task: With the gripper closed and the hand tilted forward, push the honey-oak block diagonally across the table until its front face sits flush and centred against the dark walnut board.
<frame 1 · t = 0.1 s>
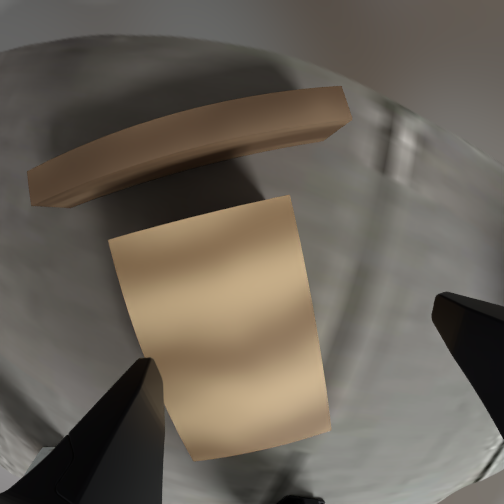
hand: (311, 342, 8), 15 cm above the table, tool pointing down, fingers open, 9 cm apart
walnut board: (187, 153, 22), on the table
oak block: (228, 314, 24), on the table
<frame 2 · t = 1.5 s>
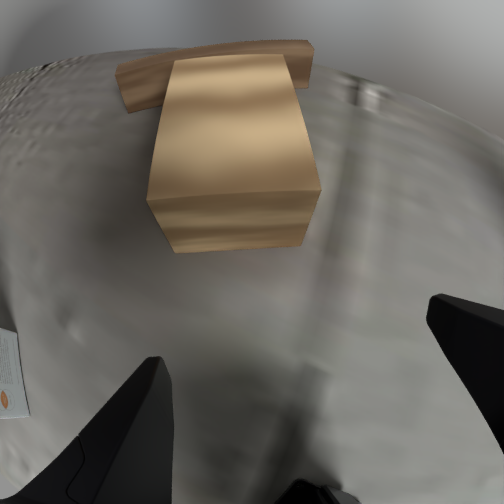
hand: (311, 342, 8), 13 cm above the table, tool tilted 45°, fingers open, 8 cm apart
walnut board: (217, 89, 31), on the table
oak block: (233, 171, 27), on the table
small box: (4, 376, 18), on the table
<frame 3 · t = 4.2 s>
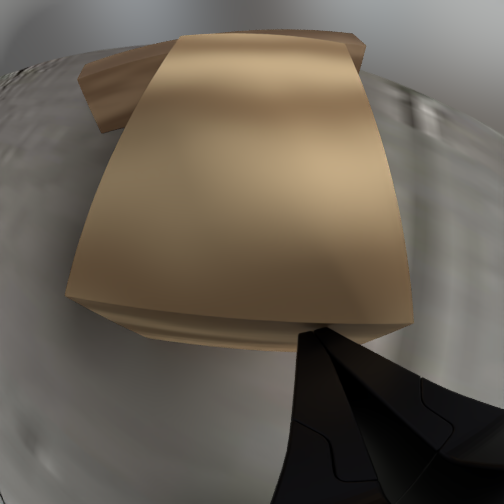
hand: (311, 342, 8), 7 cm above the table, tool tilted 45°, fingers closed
walnut board: (226, 98, 22), on the table
oak block: (251, 213, 18), on the table, touching gripper
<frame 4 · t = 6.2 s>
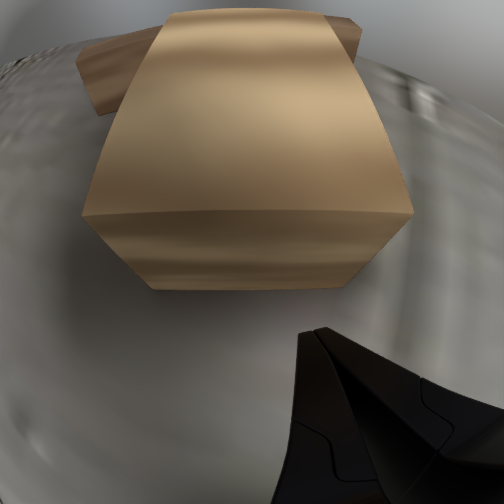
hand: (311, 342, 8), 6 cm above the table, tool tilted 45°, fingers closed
walnut board: (223, 81, 22), on the table
oak block: (246, 167, 18), on the table
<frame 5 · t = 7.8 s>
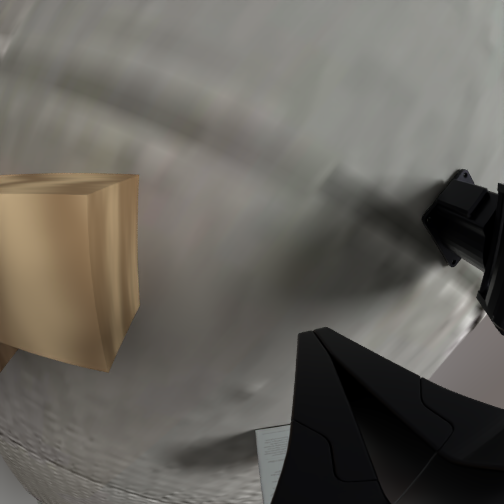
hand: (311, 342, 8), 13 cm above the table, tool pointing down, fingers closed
oak block: (49, 235, 19), on the table
small box: (291, 435, 29), on the table
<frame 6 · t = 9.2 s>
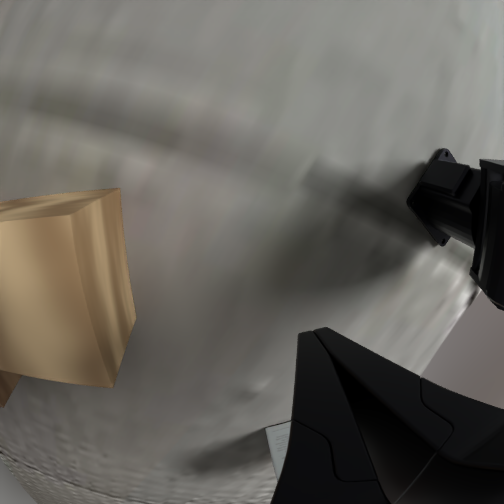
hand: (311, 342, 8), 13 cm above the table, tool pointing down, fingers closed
oak block: (39, 259, 19), on the table
small box: (301, 429, 30), on the table
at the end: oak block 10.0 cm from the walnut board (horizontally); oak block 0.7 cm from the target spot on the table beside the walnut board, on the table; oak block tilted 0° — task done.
